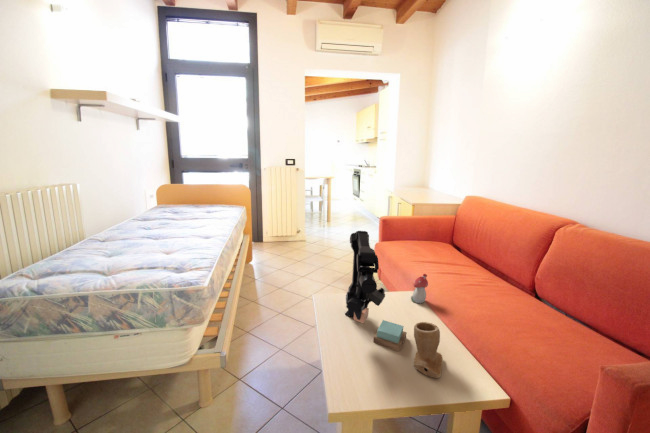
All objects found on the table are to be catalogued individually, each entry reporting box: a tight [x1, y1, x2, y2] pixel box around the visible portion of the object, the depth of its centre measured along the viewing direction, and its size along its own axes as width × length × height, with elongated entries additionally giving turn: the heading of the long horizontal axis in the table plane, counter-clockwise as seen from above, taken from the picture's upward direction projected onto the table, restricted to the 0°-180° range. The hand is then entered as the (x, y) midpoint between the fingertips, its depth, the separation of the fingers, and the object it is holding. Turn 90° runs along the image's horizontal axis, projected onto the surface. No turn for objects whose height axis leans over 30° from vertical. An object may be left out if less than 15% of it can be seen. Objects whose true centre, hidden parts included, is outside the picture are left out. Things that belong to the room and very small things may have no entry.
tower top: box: [376, 319, 404, 343], centre depth 128 cm, size 9×9×3 cm
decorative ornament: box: [410, 273, 429, 304], centre depth 163 cm, size 9×6×15 cm
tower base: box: [372, 330, 408, 352], centre depth 129 cm, size 11×11×3 cm
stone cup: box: [413, 321, 443, 379], centre depth 114 cm, size 15×12×15 cm
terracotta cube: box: [353, 307, 370, 324], centre depth 125 cm, size 4×4×4 cm
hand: (360, 316), depth 125 cm, fingers closed on terracotta cube, 4 cm apart
